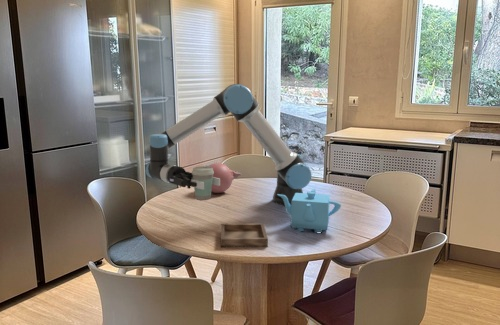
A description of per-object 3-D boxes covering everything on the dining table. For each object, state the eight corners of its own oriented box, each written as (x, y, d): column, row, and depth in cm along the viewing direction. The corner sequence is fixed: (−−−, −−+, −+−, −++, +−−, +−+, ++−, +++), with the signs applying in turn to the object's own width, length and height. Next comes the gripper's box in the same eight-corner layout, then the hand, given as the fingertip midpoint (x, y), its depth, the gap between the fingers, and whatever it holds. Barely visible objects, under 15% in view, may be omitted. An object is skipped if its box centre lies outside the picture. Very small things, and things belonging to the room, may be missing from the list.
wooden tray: (263, 230, 170) (263, 223, 169) (267, 246, 154) (267, 238, 153) (221, 231, 169) (221, 223, 168) (221, 247, 153) (221, 239, 152)
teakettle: (343, 231, 171) (345, 194, 168) (305, 239, 161) (307, 201, 158) (311, 217, 187) (312, 184, 184) (275, 225, 177) (276, 190, 174)
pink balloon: (242, 196, 219) (242, 166, 216) (201, 196, 218) (201, 166, 215) (240, 188, 234) (241, 160, 231) (203, 188, 233) (203, 160, 230)
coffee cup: (218, 198, 170) (218, 168, 168) (201, 202, 164) (201, 171, 162) (204, 194, 176) (204, 165, 173) (187, 198, 170) (186, 168, 167)
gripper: (192, 179, 189) (230, 188, 174) (153, 187, 174) (191, 198, 159) (192, 162, 187) (230, 170, 172) (152, 169, 172) (190, 178, 157)
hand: (211, 183), depth 165 cm, fingers closed on coffee cup, 8 cm apart
